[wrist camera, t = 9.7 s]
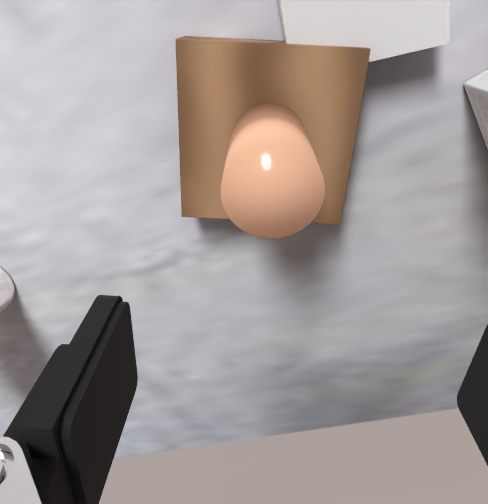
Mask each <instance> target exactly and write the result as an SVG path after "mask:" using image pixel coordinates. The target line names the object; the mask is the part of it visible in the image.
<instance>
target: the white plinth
mask: <svg viewBox="0 0 488 504" xmlns="http://www.w3.org/2000/svg"><path fill="white" fill-rule="evenodd" d="M278 6H279V12H280V19H281V25H282V31H283V38H284V41H285V42H286V43H287V44H305V45H325V46H346V47H366V48H370V49H371V50H370V56H369V62H371V61H376V60H380V59H384V58H389V57H393V56H397V55H402V54H406V53H410V52H415V51H419V50H423V49H427V48H432V47H436V46H440V45H445V44H449V43H450V0H278Z"/></svg>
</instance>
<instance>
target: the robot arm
mask: <svg viewBox="0 0 488 504" xmlns="http://www.w3.org/2000/svg"><path fill="white" fill-rule="evenodd" d="M137 379H138V377H137V367H136V358H135V349H134V340H133V331H132V323H131V314H130V306H129V303H128V302H123V300H122V297H120V296H107V295H99V296H97V297H96V299H95V301H94V302H93V304H92V306H91V308H90V309H89V311H88V313H87V314H86V316H85V318H84V320H83V321H82V323H81V325H80V327H79V328H78V330H77V332H76V334H75V335H74V337H73V339H72V341H71V342H70V344H62V345H60V346H58V348H57V349H56V350H55V352H54V353H53V355H52V357H51V358H50V360H49V362H48V363H47V365H46V366H45V368H44V370H43V371H42V373H41V375H40V376H39V378H38V380H37V381H36V383H35V385H34V386H33V388H32V390H31V391H30V393H29V394H28V396H27V398H26V399H25V401H24V403H23V404H22V406H21V408H20V409H19V411H18V413H17V414H16V416H15V418H14V419H13V421H12V422H11V424H10V426H9V427H8V429H7V431H6V432H5V434H4V436H3V437H2V436H0V504H99V500H100V498H101V495H102V491H103V488H104V485H105V482H106V479H107V476H108V473H109V470H110V467H111V464H112V461H113V458H114V455H115V452H116V449H117V446H118V443H119V440H120V437H121V434H122V431H123V428H124V425H125V422H126V419H127V415H128V412H129V409H130V406H131V403H132V400H133V397H134V394H135V391H136V387H137ZM457 404H458V407H459V410H460V412H461V414H462V416H463V418H464V419H465V422H466V423H467V426H468V427H469V430H470V431H471V434H472V436H473V438H474V439H475V441H476V443H477V445H478V447H479V449H480V451H481V453H482V455H483V457H484V459H485V461H486V463H487V465H488V325H487V327H486V329H485V331H484V333H483V336H482V338H481V340H480V343H479V345H478V347H477V350H476V352H475V355H474V357H473V359H472V362H471V364H470V366H469V369H468V371H467V373H466V376H465V378H464V380H463V383H462V385H461V387H460V390H459V392H458V395H457Z"/></svg>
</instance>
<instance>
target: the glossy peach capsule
mask: <svg viewBox="0 0 488 504" xmlns="http://www.w3.org/2000/svg"><path fill="white" fill-rule="evenodd" d="M324 195H325V183H324V178H323V175H322V172H321V169H320V167H319V164H318V162H317V159H316V156H315V154H314V151H313V149H312V146H311V143H310V141H309V138H308V136H307V133H306V130H305V128H304V125H303V123H302V121H301V120H300V118H299V117H298V116H297V115H296V114H295V112H293V111H292V110H291V109H289V108H287V107H286V106H283V105H281V104H277V103H262V104H258V105H255V106H253V107H251V108H249V109H247V110H246V111H245V112H244V113H242V114H241V116H240V117H239V118H238V119H237V121H236V122H235V124H234V126H233V129H232V133H231V137H230V142H229V147H228V152H227V157H226V162H225V167H224V172H223V177H222V182H221V200H222V204H223V207H224V210H225V212H226V214H227V215H228V217H229V218H230V220H231V221H232V222H233V223H234V224H235V225H236V226H237V227H238V228H240V229H241V230H243V231H244V232H246V233H248V234H250V235H253V236H256V237H260V238H266V239H277V238H283V237H287V236H290V235H293V234H295V233H297V232H299V231H301V230H302V229H304V228H305V227H306V226H308V225H309V224H310V223H311V222H312V221H313V220H314V218H315V217H316V216H317V214H318V212H319V211H320V209H321V206H322V203H323V200H324Z"/></svg>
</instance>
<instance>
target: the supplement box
mask: <svg viewBox="0 0 488 504" xmlns="http://www.w3.org/2000/svg"><path fill="white" fill-rule="evenodd" d="M464 87H465V90H466V92H467V95H468V98H469V101H470V104H471V106H472V109H473V111H474V114H475V117H476V120H477V122H478V125H479V128H480V131H481V133H482V136H483V139H484V141H485V144H486V146H487V149H488V69H487V70H485V71H484V72H482V73H480V74H479V75H477V76H475V77H474V78H472V79H470V80H469V81H467V82H465V83H464Z"/></svg>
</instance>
